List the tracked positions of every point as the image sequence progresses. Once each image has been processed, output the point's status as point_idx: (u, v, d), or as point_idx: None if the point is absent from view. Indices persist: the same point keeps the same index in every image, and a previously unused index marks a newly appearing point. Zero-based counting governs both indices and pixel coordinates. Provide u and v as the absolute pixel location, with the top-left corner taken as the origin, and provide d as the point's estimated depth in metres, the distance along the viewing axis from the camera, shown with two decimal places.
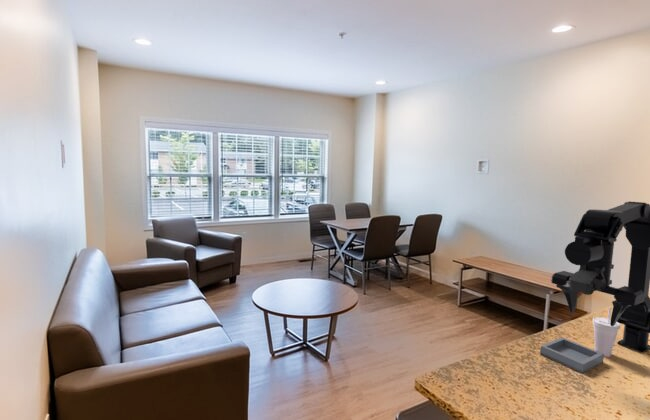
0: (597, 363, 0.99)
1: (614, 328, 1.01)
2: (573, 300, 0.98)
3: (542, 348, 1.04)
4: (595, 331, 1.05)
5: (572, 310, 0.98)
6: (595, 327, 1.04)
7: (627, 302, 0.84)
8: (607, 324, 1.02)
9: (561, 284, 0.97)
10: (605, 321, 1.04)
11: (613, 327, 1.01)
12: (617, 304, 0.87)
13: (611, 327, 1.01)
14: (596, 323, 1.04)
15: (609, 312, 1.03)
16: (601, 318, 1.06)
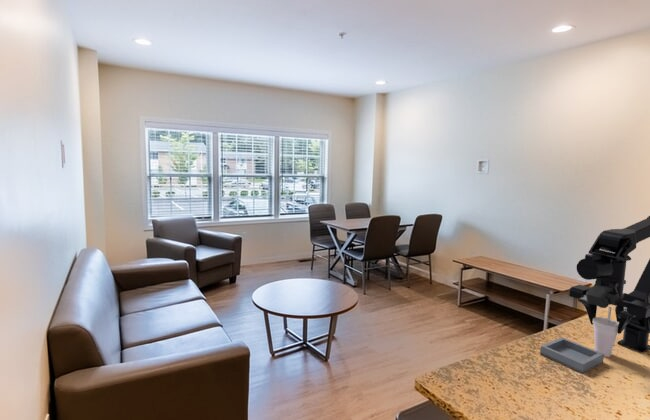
0: (597, 363, 0.99)
1: (614, 328, 1.01)
2: (593, 313, 1.07)
3: (542, 348, 1.04)
4: (595, 331, 1.05)
5: None
6: (595, 327, 1.04)
7: (639, 315, 0.95)
8: (607, 324, 1.02)
9: (578, 297, 1.07)
10: (605, 321, 1.04)
11: (613, 327, 1.01)
12: (624, 315, 0.98)
13: (611, 327, 1.01)
14: (596, 323, 1.04)
15: (609, 312, 1.03)
16: (601, 318, 1.06)
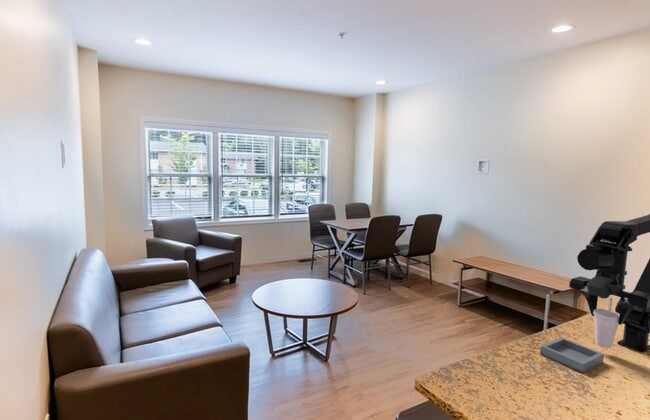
0: (597, 363, 0.99)
1: (615, 319, 1.01)
2: (594, 304, 1.06)
3: (542, 348, 1.04)
4: (596, 322, 1.04)
5: (593, 314, 1.06)
6: (596, 318, 1.04)
7: (640, 305, 0.94)
8: (608, 315, 1.02)
9: (578, 288, 1.07)
10: (606, 312, 1.03)
11: (614, 318, 1.01)
12: (625, 305, 0.98)
13: (612, 318, 1.01)
14: (597, 314, 1.03)
15: (610, 303, 1.03)
16: (602, 309, 1.06)
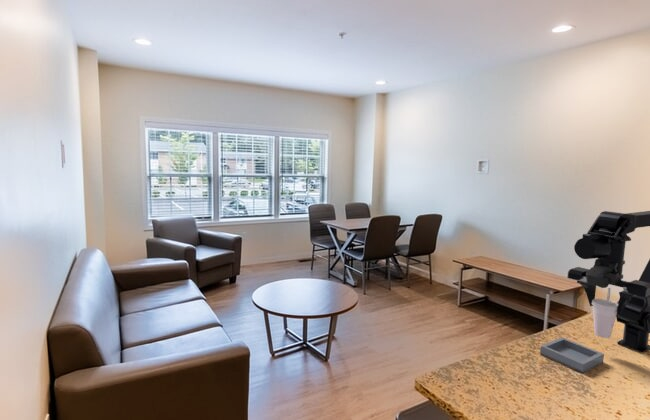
0: (597, 363, 0.99)
1: (614, 309, 1.01)
2: (592, 295, 1.07)
3: (542, 348, 1.04)
4: (595, 312, 1.04)
5: (591, 304, 1.07)
6: (594, 308, 1.04)
7: (639, 294, 0.95)
8: (607, 305, 1.02)
9: (577, 279, 1.07)
10: (604, 302, 1.04)
11: (613, 308, 1.01)
12: (623, 294, 0.98)
13: (611, 308, 1.01)
14: (596, 304, 1.03)
15: (608, 293, 1.03)
16: (600, 300, 1.06)
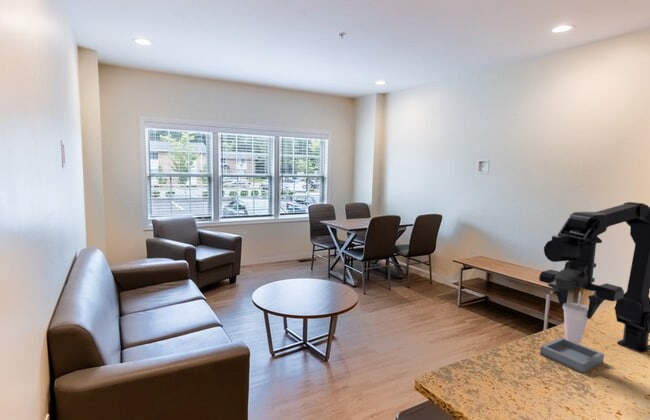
0: (597, 363, 0.99)
1: (584, 313, 0.98)
2: (564, 298, 1.03)
3: (542, 348, 1.04)
4: (565, 317, 1.01)
5: None
6: (565, 312, 1.01)
7: (607, 298, 0.91)
8: (577, 309, 0.99)
9: (548, 282, 1.04)
10: (575, 306, 1.00)
11: (582, 312, 0.98)
12: (593, 298, 0.94)
13: (580, 312, 0.98)
14: (566, 308, 1.00)
15: (579, 297, 1.00)
16: (572, 303, 1.03)
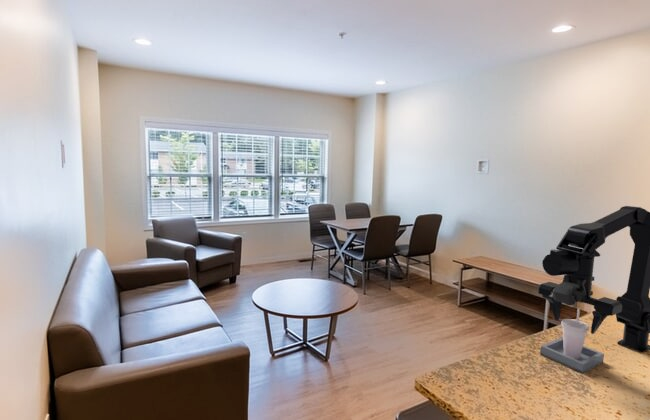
0: (597, 363, 0.99)
1: (582, 330, 0.98)
2: (558, 309, 1.05)
3: (542, 348, 1.04)
4: (563, 333, 1.02)
5: (557, 318, 1.05)
6: (563, 329, 1.02)
7: (605, 312, 0.92)
8: (575, 326, 0.99)
9: (546, 294, 1.04)
10: (574, 323, 1.01)
11: (581, 329, 0.98)
12: (596, 314, 0.94)
13: (579, 329, 0.98)
14: (564, 325, 1.01)
15: (578, 314, 1.01)
16: (570, 320, 1.03)
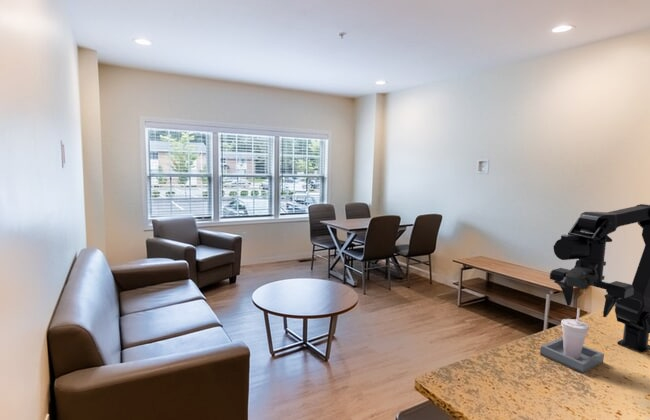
0: (597, 363, 0.99)
1: (582, 330, 0.98)
2: (569, 294, 1.07)
3: (542, 348, 1.04)
4: (563, 333, 1.02)
5: (569, 303, 1.07)
6: (563, 329, 1.02)
7: (618, 295, 0.94)
8: (575, 326, 0.99)
9: (558, 280, 1.07)
10: (574, 323, 1.01)
11: (581, 329, 0.98)
12: (609, 297, 0.96)
13: (579, 329, 0.98)
14: (564, 325, 1.01)
15: (578, 314, 1.01)
16: (570, 320, 1.03)
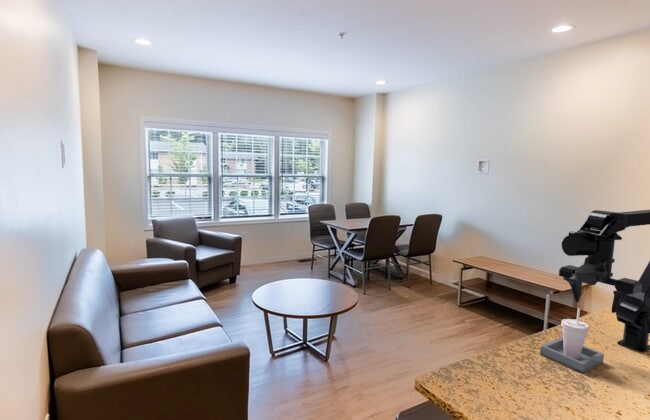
0: (597, 363, 0.99)
1: (582, 330, 0.98)
2: (578, 291, 1.10)
3: (542, 348, 1.04)
4: (564, 333, 1.02)
5: (577, 300, 1.10)
6: (563, 329, 1.02)
7: (626, 291, 0.96)
8: (575, 326, 0.99)
9: (567, 276, 1.09)
10: (574, 323, 1.01)
11: (581, 329, 0.98)
12: (617, 293, 0.98)
13: (579, 329, 0.98)
14: (564, 325, 1.01)
15: (578, 314, 1.01)
16: (570, 320, 1.03)
